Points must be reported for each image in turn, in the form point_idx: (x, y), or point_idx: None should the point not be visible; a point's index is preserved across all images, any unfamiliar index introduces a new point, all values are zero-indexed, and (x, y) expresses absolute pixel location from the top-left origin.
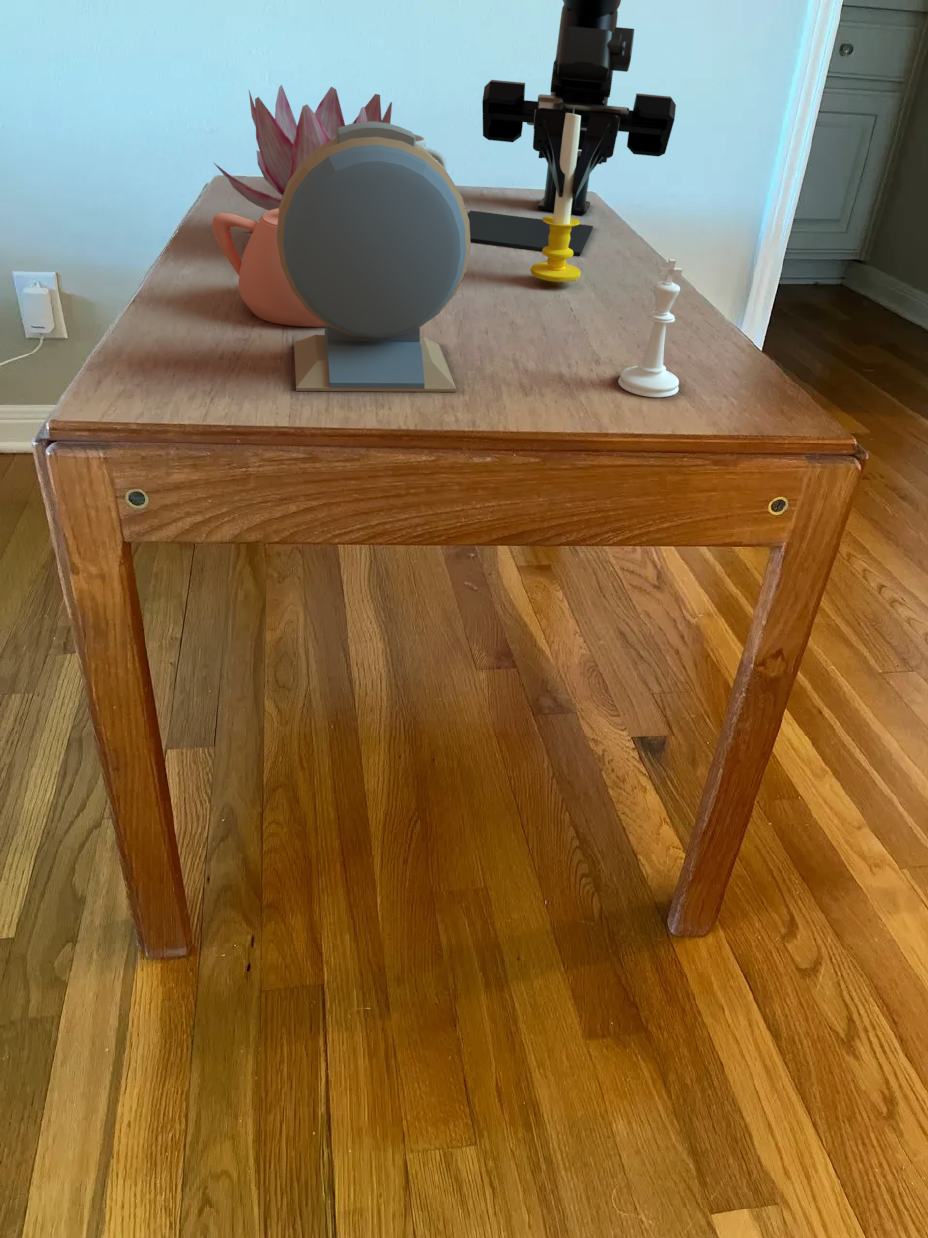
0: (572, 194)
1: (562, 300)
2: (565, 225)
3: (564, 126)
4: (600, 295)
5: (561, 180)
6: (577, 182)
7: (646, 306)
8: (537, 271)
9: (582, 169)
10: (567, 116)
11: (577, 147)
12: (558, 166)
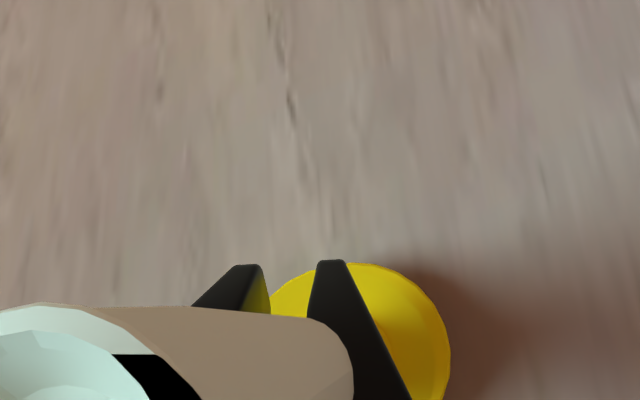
0: (263, 277)
1: (321, 182)
2: (311, 271)
3: (287, 396)
4: (210, 282)
5: (332, 292)
6: (222, 293)
7: (83, 227)
8: (419, 298)
9: None
10: (197, 370)
11: (160, 373)
12: (361, 341)
